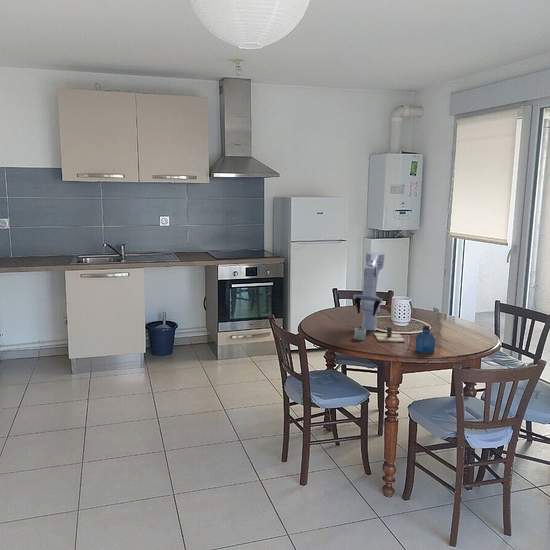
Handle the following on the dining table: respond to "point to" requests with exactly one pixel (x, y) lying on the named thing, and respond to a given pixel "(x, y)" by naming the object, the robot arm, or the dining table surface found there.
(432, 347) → the perfume bottle
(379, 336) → the post stand
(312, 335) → the dining table surface
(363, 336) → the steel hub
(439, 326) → the dining table surface
